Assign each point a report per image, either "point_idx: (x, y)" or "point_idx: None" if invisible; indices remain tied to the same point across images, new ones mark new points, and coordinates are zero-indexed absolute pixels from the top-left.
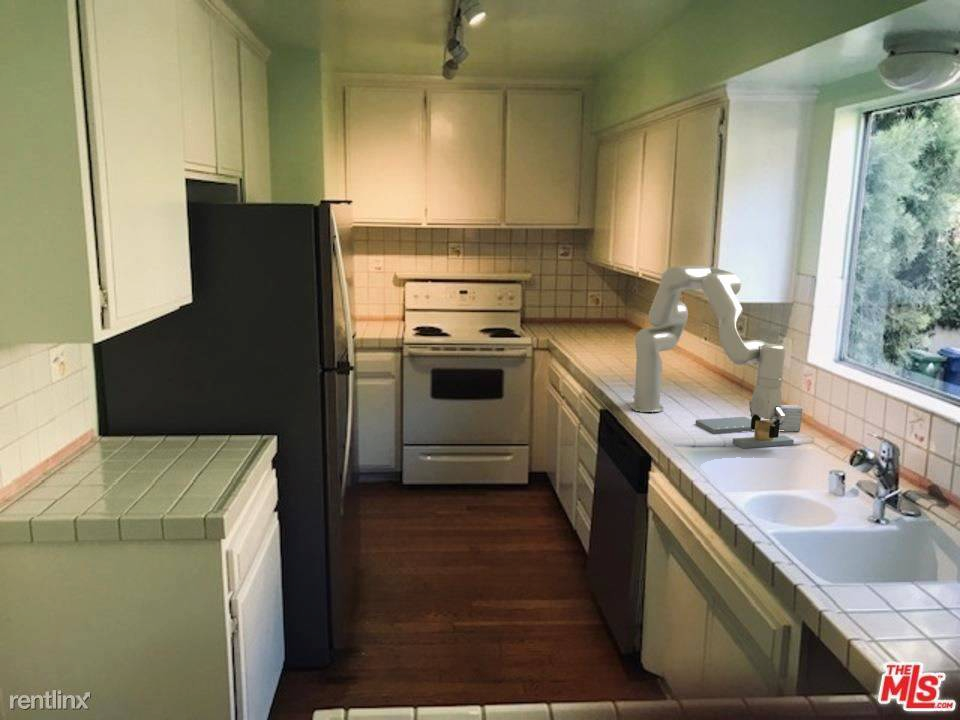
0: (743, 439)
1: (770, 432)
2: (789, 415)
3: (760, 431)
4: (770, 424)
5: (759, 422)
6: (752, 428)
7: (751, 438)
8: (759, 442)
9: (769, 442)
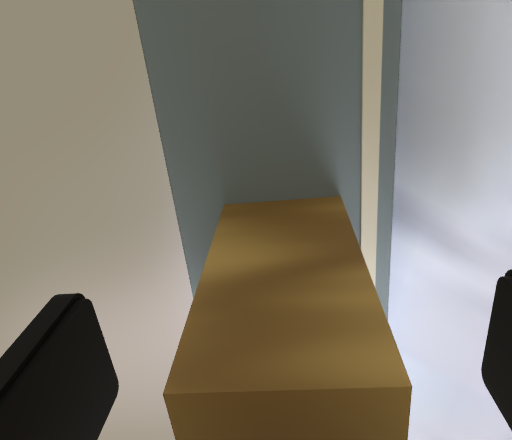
0: (317, 8)
1: (12, 348)
2: None
3: (203, 271)
4: None
5: (246, 391)
6: (500, 281)
7: (338, 157)
8: (169, 173)
9: (195, 290)
